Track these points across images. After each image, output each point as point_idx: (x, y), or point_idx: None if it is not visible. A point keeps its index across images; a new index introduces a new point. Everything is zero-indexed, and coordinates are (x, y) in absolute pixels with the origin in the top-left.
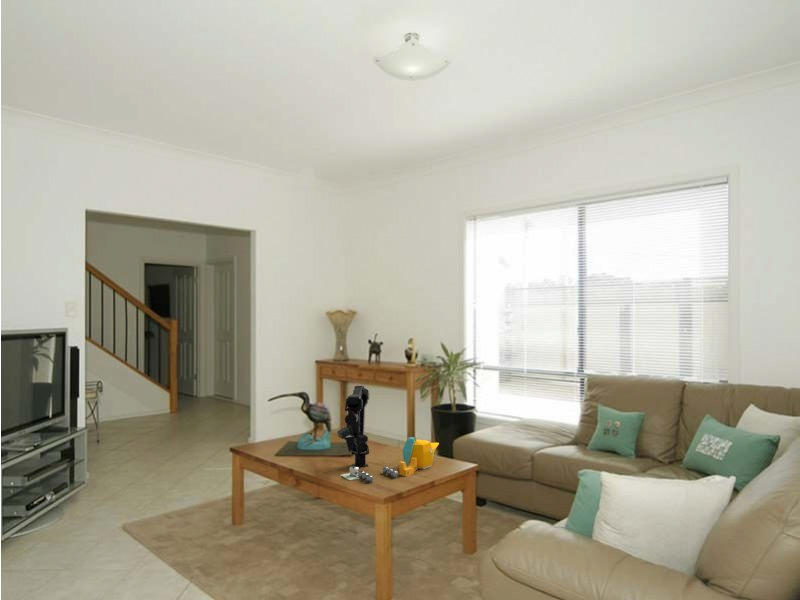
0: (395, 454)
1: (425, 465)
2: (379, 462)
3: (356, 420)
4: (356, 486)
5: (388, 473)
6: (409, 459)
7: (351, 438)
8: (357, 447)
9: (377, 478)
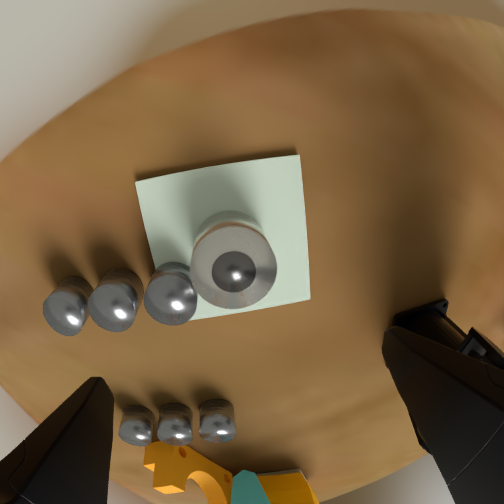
0: None
1: None
2: (392, 406)
3: None
4: (21, 195)
5: (162, 415)
6: (231, 501)
7: (482, 496)
8: (3, 458)
9: (138, 356)
